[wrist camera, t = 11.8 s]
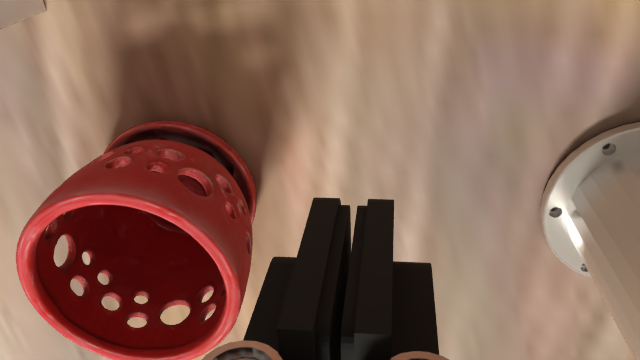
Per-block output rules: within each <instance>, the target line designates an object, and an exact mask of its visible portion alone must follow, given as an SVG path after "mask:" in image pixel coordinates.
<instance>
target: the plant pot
mask: <svg viewBox="0 0 640 360" xmlns="http://www.w3.org/2000/svg"><path fill="white" fill-rule="evenodd" d="M65 212H66V213H65ZM255 212H256V190H255V185H254V182H253V179H252V176H251V174H250V172H249V170H248V168H247V166H246V165H245V163H244V161H243V160H242V158H241V157H240V156H239V155H238V154H237V153H236V151H235V150H234V149H233V148H232V147H230V146H229V145H228V144H227V143H226V142H225V141H223V140H222V139H221V138H219V137H218V136H216V135H214V134H213V133H211V132H209V131H207V130H205V129H203V128H200V127H197V126H194V125H192V124H188V123H183V122H176V121H156V122H149V123H144V124H141V125H138V126H135V127H132V128H130V129H128V130H126V131H125V132H123V133H122V134H120V135H119V136H118V137H117V138H115V139H114V140H113V141H112V142H111V144H110V145H109V146H108V147H107V149H106V150H105V152H104V154H103V155H101V156H100V157H98V158H96V159H95V160H93V161H92V162H90V163H89V164H87V165H86V166H85V167H83V168H82V169H80V170H79V171H77V172H76V173H74V174H73V175H72V176H70V177H69V178H68V179H67V180H66V181H65V182H64V183H63V184H62V185H61V186H60V187H58V188H57V189H56V190H55V191H54V192H53V193H52V194H51V195H50V196H49V197H48V198H47V199H46V200H45V201H44V202H43V203H42V205H41V206H40V207H39V208H38V209H37V211H36V212H35V213H34V214H33V216H32V217H31V218H30V220H29V221H28V222H27V224H26V225H25V227H24V229H23V231H22V233H21V235H20V238H19V241H18V244H17V251H16V264H17V272H18V275H19V279H20V282H21V285H22V288H23V290H24V292H25V294H26V296H27V297H28V299H29V301H30V302H31V304H32V305H33V306H34V308H35V309H36V310H37V312H38V313H39V314H40V315H41V316H42V317H43V318H44V319H45V320H46V321H47V322H48V323H49V324H50V325H51V326H52V327H53V328H55V329H56V330H57V331H58V332H59V333H61V334H62V335H63V336H65V337H66V338H68V339H69V340H71V341H73V342H74V343H76V344H78V345H80V346H82V347H84V348H86V349H88V350H90V351H92V352H94V353H97V354H99V355H101V356H104V357H107V358H110V359H113V360H191V359H194V358H196V357H199V356H201V355H203V354H204V353H206V352H208V351H209V350H211V349H212V348H214V347H215V346H217V345H218V344H219V343H220V342H221V341H222V340H223V339H224V338H225V337H226V336H227V335H228V333H229V332H230V331H231V329H232V328H233V326H234V324H235V322H236V320H237V317H238V314H239V312H240V308H241V305H242V302H243V299H244V295H245V291H246V286H247V281H248V277H249V272H250V266H251V256H252V243H253V242H252V223H253V220H254V217H255ZM63 213H65V214H64V215H63ZM48 225H49V226H48ZM47 227H48V229H47ZM46 229H47V231H46ZM62 235H65V236H66V239H67V242H68V249H69V250H68V256H67V259H66V261H65V263H64V264H63V265H62V266H60V267H57V266H56V264H55V262H54V259H53V256H54V249H55V246H56V244H57V241H58V239H59V238H60V237H61V236H62ZM83 252H87V253H88V254H89V256H90V264H89V265H86V264H84V262H83V260H82V254H83ZM99 273H104V274H106V275H107V276H108V278H109V283H108V284H107V285H103V284H101V283H100V282H99V281H98V279H97V276H98V274H99ZM72 279H77V280H78V281H79V282H80V283H81V284H82V286H83V289H84V292H83V295H82V296H77V295H76V294H75V293H74V292H73V291H72V289H71V287H70V282H71V280H72ZM211 290H214V292H213V294H212V296H211V297H210V299H209V300H208V301H206V302H204V303H202V299H203V297H204V295H205V294H206V293H207V292H209V291H211ZM139 295H142V296H145V297H146V298H147V299H148V301H147V302H146V303H145V304H138V303H136V302H135V301H134V298H135V297H136V296H139ZM105 296H110V297H113V298H115V299H116V300H117V301H118V302H119V308H118V309H117V310H114V311H111V310H107V309H105V308H104V307H103V306H102V303H101V300H102V299H103V297H105ZM174 305H186V306H188V307H189V308H190V314H189V315H188V317H187V318H186V319H185V320H184V321H182V322H181V323H179V324H176V325H167V324H165V323H163V322H162V321H161V319H160V316H161V314H162V312H163V311H164V310H165V309H167V308H168V307H171V306H174ZM215 308H216V309H215ZM213 309H215V311H214V313H213V314H212V316H211V317H210V318H208V319H207V320H205V318H206V316H207V315H208V313H209V312H210V311H211V310H213ZM132 317H141V318H143V319H145V320H146V321H147V324H146V325H145V326H144V327H141V328H133V327H130V326H129V325H128V324H127V321H128V320H129V319H130V318H132Z"/></svg>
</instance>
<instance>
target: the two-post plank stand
mask: <svg viewBox="0 0 640 360" xmlns="http://www.w3.org/2000/svg"><path fill="white" fill-rule="evenodd" d="M45 11H46V8H45V5H44V2H43V0H0V29H2V28H4V27H7V26H10V25H12V24H15V23H17V22H20V21H22V20H25V19H27V18H30V17H32V16H35V15H37V14H40V13H42V12H45Z"/></svg>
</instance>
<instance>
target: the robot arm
mask: <svg viewBox="0 0 640 360" xmlns="http://www.w3.org/2000/svg"><path fill="white" fill-rule="evenodd" d="M606 144H607V145H606ZM604 145H606V146H604ZM603 146H604V147H603ZM540 219H541V226H542V229H543V233H544V236H545V238H546V240H547V242H548V244H549V246H550V248H551V250H552V251H553V252H554V254H555V255H556V256H557V258H558V259H559V260H560V261H561V262H563V263H564V264H565V265H566V266H567V267H569V268H570V269H572V270H573V271H575V272H577V273H579V274H581V275H583V276H586V277H589V278H592V279H593V281H594V283H595V285H596V287H597V288H598V290H599V292H600V294H601V296H602V298H603V300H604V302H605V303H606V305H607V307H608V309H609V311H610V313H611V315H612V317H613V319H614V320H615V322H616V324H617V326H618V328H619V330H620V332H621V334H622V335H623V337H624V339H625V341H626V343H627V345H628V347H629V349H630V350H631V352H632V354H633V356H634V358H635V360H640V122H637V123H631V124H626V125H622V126H619V127H617V128H614V129H611V130H608V131H605V132H603V133H601V134H599V135H598V136H596V137H594V138H592V139H590V140H588V141H586V142H585V143H584V144H582V145H581V146H580V147H578V148H577V149H576V150H574V151H573V152H572V153H571V154H570V155H569V156H568V157H567V158H566V159H565V160H564V161H563V162H562V163H561V164H560V165H559V166H558V168H557V169H556V171H555V172H554V174H553V175H552V177H551V178H550V180H549V181H548V184H547V186H546V189H545V191H544V193H543V197H542V202H541V207H540ZM393 228H394V200H383V199H368V204H367V206H358V207H357V214H356V221H355V228H354V236H353V243H352V251H351V222H350V205H341V201H340V198H314V199H313V202H312V205H311V209H310V213H309V216H308V220H307V223H306V227H305V230H304V234H303V237H302V241H301V244H300V248H299V251H298V255H297V258H295V257H274V258H273V259H272V261H271V263H270V266H269V268H268V271H267V274H266V277H265V280H264V283H263V286H262V288H261V291H260V294H259V297H258V300H257V303H256V305H255V308H254V311H253V314H252V317H251V320H250V323H249V325H248V328H247V331H246V334H245V337H244V340H243V341H237V342H231V343H227V344H225V345H222V346H220V347H218V348H216V349H214V350H213V351H211V352H210V353H209V354H207V355H206V356H205V357H204V358H203V359H202V360H448V359H447V358H445V357H443V356H440V355H439V348H438V336H437V325H436V313H435V301H434V290H433V278H432V267H431V263H416V262H393Z"/></svg>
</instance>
